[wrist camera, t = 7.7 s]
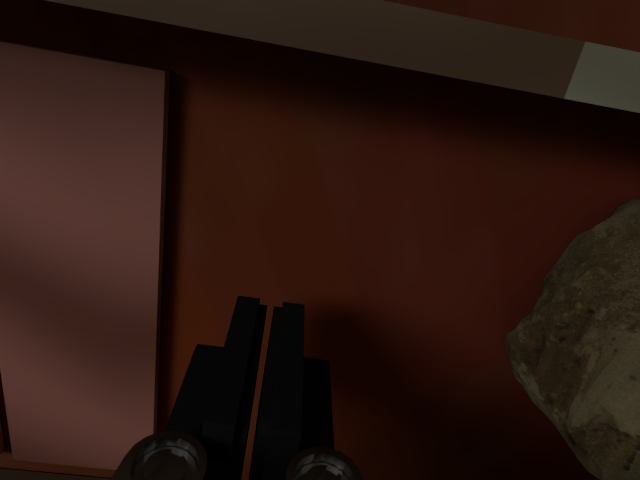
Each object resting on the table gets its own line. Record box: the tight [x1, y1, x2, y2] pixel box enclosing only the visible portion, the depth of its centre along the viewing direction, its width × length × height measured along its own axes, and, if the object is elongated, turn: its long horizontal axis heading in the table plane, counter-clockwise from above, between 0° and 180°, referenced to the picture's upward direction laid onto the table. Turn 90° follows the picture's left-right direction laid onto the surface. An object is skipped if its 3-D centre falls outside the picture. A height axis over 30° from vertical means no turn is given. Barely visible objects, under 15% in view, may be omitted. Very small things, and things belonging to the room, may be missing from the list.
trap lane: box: [0, 0, 640, 480], centre depth 12 cm, size 17×36×4 cm, turn 80°
